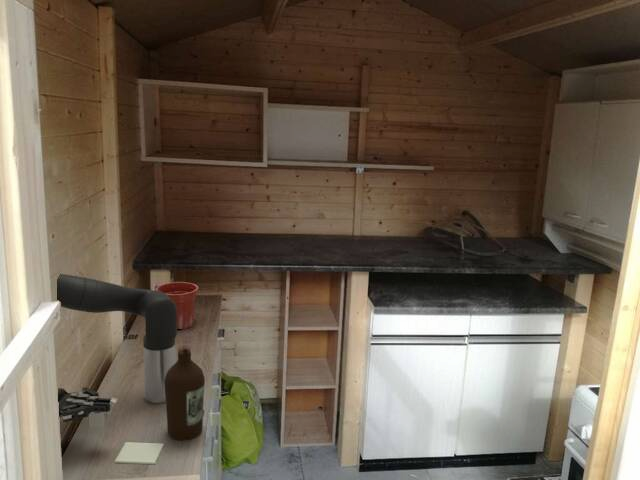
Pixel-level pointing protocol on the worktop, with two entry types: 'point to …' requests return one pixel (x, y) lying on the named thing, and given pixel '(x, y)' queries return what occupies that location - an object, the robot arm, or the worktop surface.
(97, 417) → the lighter
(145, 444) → the mat
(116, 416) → the worktop surface
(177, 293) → the flower pot
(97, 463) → the worktop surface
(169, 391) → the olive oil
